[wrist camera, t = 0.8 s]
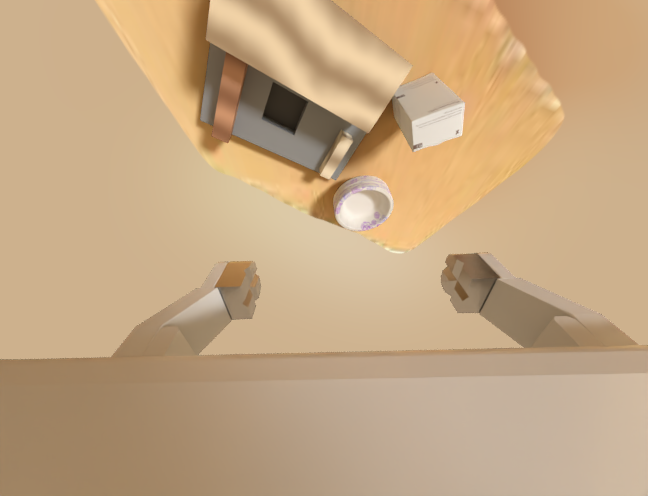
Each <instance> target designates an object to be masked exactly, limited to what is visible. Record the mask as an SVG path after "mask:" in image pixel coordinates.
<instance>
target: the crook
mask: <svg viewBox="0 0 648 496" xmlns="http://www.w3.org/2000/svg"><path fill="white" fill-rule="evenodd" d="M247 68H248V64H247V63H245V62H243V61H242V60H240V59H238V58H236V57H235V56H233V55H231V54H229V53H228V52H226V55H225V61H224V67H223V72H222V78H221V84H220V90H219V96H218V102H217V107H216V113H215V119H214V125H213V131H212V137H214V138H217V139H219V140H221V141H224V142H226V143H228V142H229V140H230V138H231V135H232V132H233V128H234V123H235V119H236V115H237V111H238V106H239V102H240V98H241V93H242V89H243V85H244V81H245V76H246V72H247Z"/></svg>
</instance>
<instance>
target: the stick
mask: <svg viewBox="0 0 648 496" xmlns="http://www.w3.org/2000/svg"><path fill="white" fill-rule="evenodd" d="M352 142H353V139H352V136H351V135H350V134H348V133H347V132H345V131H343V130H341V131H340V132H339V134H338V136H337V138H336V140H335V141H334V143H333V145H332V147H331V148H330V150H329V152H328V154H327V156H326V157H325V159H324V161H323V163H322V164H321V166H320V168H319V172H320V176H322V177H324V178H326V179H329V180H330V178H331V176H332V175H333V173H334V171H335V170H336V168H337V167H338V165H339V163H340V162H341V160H342V159H343V157H344V155H345V154H346V152H347V151H348V149H349V147H350V146H351V144H352Z"/></svg>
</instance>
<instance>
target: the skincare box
mask: <svg viewBox="0 0 648 496" xmlns="http://www.w3.org/2000/svg"><path fill="white" fill-rule="evenodd" d="M392 104H393V112H394V118H395V120H396V122H397V124H398V125H399V127H400V129H401V131H402V133H403V135H404V137H405V138H406V140H407V142H408V144H409V146H410V148H411V149H412V151H413V152H415V151H418V150H421V149H423V148H426V147H429V146H435V145H439V144H441V143H442V142H444V141H447V140H450V139H453V138H457V137H460V136H462V129H463V117H464V107H465V102H463V101H462V100H461V99H460V98H459V97H458V96H457V95H456V94H455V93H454V92H453V91H452V90H451V89H450V88H449V87H447V86H446V85H445V84H444V83H443V82H442V81H441V80H440V79H439V78H438V77H437V76H436V75H435V74H434V73H429V74H427V75H426V76H423V77H421V78H419V79H417V80H414V81H412V82H409V83H407V84H404V85H402V86H399V88H398V89H397V91H396V92H395V94H394V96H393V97H392Z"/></svg>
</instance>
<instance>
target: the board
mask: <svg viewBox="0 0 648 496" xmlns="http://www.w3.org/2000/svg"><path fill="white" fill-rule="evenodd" d="M225 55H226V51H224V50H222V49H221V48H219V47H217V46H215V45H214V44H212V43H210V48H209V56H208V63H207V71H206V79H205V86H204V94H203V102H202V109H201V117H200V120H201V121H203V122H205V123H208V124H210V125H212V126H213V125H214V119H215V113H216V107H217V102H218V96H219V90H220V84H221V78H222V72H223V67H224V61H225ZM341 130H343V131H345V132H347V133H348V134H350V135H351V136H352V139H353V142H352V144H351V146H350V147H349V149H348V151H347V152H346V154H345V155H344V157H343V159H342V160H341V162H340V163H339V165H338V167H337V168H336V170H335V171H334V173H333V175H332V176H331V178H332V179H334V180H336V179H337V178H338V176H339V175H340V173H341V172H342V170H343V169H344V167H345V166H346V164H347V162H348V161H349V159H350V158H351V156H352V155H353V153H354V152H355V150H356V148H357V147H358V145H359V144H360V142H361V141H362V139H363V138H364V136H365V135H366V133H367V132H365V131H363V130H361V129H360V128H358V127H356V126H354V125H353V124H351V123H349V122H347V121H346V120H344V119H342V118H341V117H339V116H337V115H335V114H334V113H332V112H330V111H328V110H327V109H325V108H323V107H321V106H320V105H318V104H316V103H314V102H313V101H311V100H309V99H308V98H306V97H304V96H302V95H301V94H299V93H297V92H295V91H294V90H292V89H290V88H288V87H287V86H285V85H283V84H281V83H280V82H278V81H276V80H275V79H273V78H271V77H269V76H268V75H266V74H264V73H262V72H261V71H259V70H257V69H255V68H254V67H252V66H250V65H248V68H247V72H246V76H245V81H244V85H243V89H242V93H241V98H240V102H239V106H238V111H237V115H236V119H235V123H234V128H233V132H232V135H235V136H237V137H239V138H242V139H244V140H246V141H248V142H251V143H253V144H255V145H257V146H260V147H262V148H264V149H266V150H269V151H271V152H273V153H275V154H278V155H280V156H282V157H284V158H287V159H289V160H291V161H293V162H296V163H298V164H300V165H303V166H305V167H307V168H309V169H312V170H314V171H316V172H318V173H320V172H319V168H320V166H321V164H322V163H323V161H324V159H325V157H326V156H327V154H328V152H329V150H330V148H331V147H332V145H333V143H334V141H335V140H336V138H337V136H338V134H339V132H340V131H341Z"/></svg>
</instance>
